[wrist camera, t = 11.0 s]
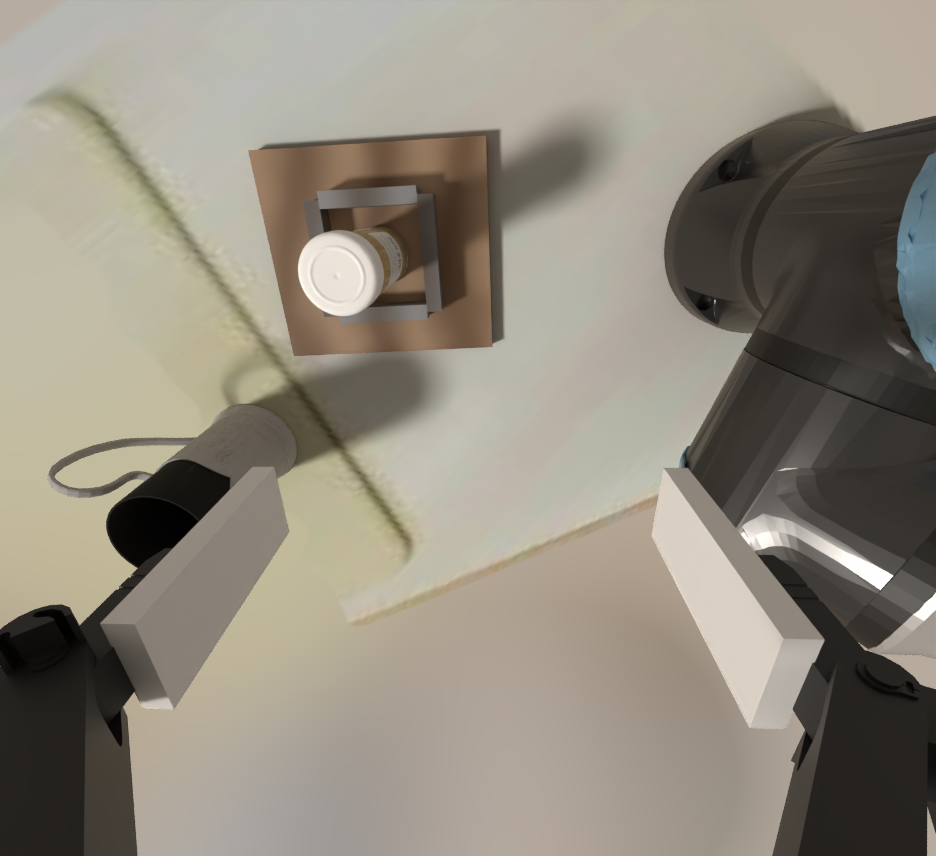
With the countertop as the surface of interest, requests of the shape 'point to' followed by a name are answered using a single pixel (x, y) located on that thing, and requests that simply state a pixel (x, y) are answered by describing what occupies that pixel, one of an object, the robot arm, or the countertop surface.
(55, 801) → the robot arm
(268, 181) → the socket board
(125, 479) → the grey mug
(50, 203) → the countertop surface
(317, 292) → the sprinkles bottle
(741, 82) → the countertop surface
